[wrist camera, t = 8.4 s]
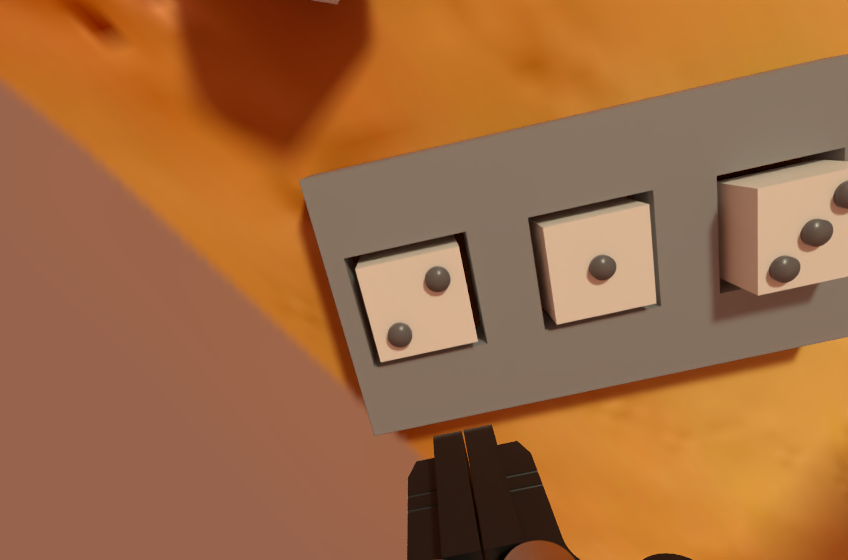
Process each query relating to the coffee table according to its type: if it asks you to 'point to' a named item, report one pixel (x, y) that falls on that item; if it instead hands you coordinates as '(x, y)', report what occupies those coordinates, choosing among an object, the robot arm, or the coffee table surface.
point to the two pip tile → (416, 298)
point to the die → (329, 1)
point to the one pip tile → (594, 259)
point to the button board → (572, 187)
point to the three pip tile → (784, 226)
